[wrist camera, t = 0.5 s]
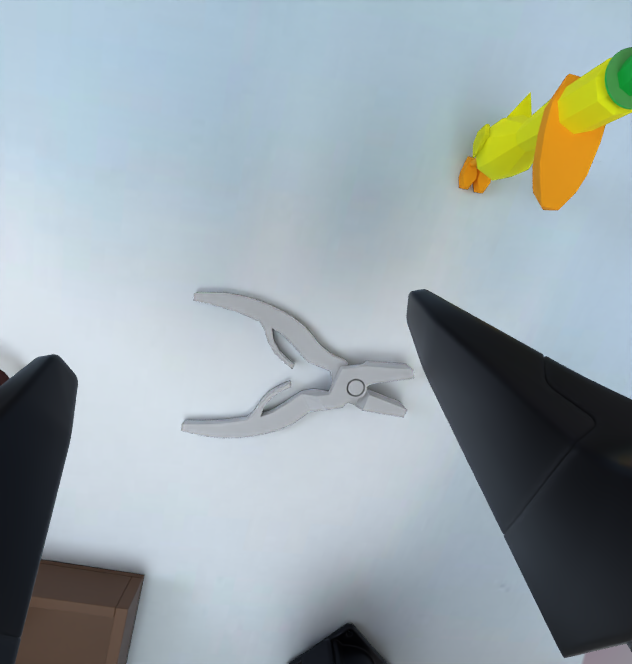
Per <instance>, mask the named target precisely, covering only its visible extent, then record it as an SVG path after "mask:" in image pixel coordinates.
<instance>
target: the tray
mask: <svg viewBox="0 0 632 664" xmlns="http://www.w3.org/2000/svg"><path fill="white" fill-rule="evenodd" d="M143 579H144V575H141V574H134V573H128V572H121V571H114V570H107V569H101V568H94V567H87V566H80V565H74V564H67V563H60V562H54V561H47V560H40V564H39V568H38V572H37V576H36V580H35V584H34V588H33V592H32V596H31V600H30V604H29V608H28V612H27V616H26V620H25V624H24V628H23V632H22V636H21V637H20V638H21V641H20V645H19V649H18V653H17V657H16V661H15V664H126V662H127V657H128V652H129V647H130V642H131V637H132V633H133V628H134V623H135V618H136V613H137V608H138V604H139V599H140V594H141V589H142V584H143Z"/></svg>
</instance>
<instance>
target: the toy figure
mask: <svg viewBox="0 0 632 664" xmlns="http://www.w3.org/2000/svg"><path fill="white" fill-rule="evenodd" d="M629 113H632V47H630V48H626V49H623V50H621V51H620V52H618V53H617V54H615V55H614V56H613V57H612V58H609V59H608V60H606V61H605V62H603V63H602V64H600V65H598V66H597V67H595V68H594V69H592V70H591V71H589V72H588V73H586V74H585V75H583V76H582V77H579V76H576V75H572V74H569V75H567V76H566V78H565V79H564V81H563V82H562V83H561V85H560V86H559V88H558V89H557V91H556V92H555V94H554V95H553V97H552V98H551V99H550V100H549V101H548V102H547V103H546V104H545V105H543V106H542V107H541V108H540V109H539V110H538V111H537V112H535V113H534V114H533V115H532V112H531V92H530V93H529V94H528V95H527V96H526V97H525V99H524V100H523V101H522V102H521V103H520V104H519V105H518V106H517V107H516V108H515V109H514V110H513V111H512V112H511V113H510V114H509V116H508V117H507V118H503V119H501V120H500V121H498V122H497V123H496V124H494V125H493V126H491V127H490V125H489V124H486V125H484V126H483V127H482V128H481V129H480V130H479V131H478V132H477V135H476V138H475V140H474V143H473V158H472V157H467V159H466V161H465V163H464V165H463V168H462V170H461V172H460V175H459V188H462V189H468V188H469V187H470V186H471V185H472V183H473V188H474V192H477V193H483V192H484V191H485V189H486V188H487V187H488V185H489V184H490V182H491V180H492V181H493V180H498V179H503V178H508V177H512V176H514V175H517V174H519V173H521V172H524V171H526V170H528V169H529V168H530V166H531V165H532V164H533V193H534V195H535V197H536V198H537V200H538V202H539V204H540V205H541V207H542V209H543V210H559V209H560V208H561V207H562V206H563V205H564V204H565V203H566V202H567V201H568V200H569V199H570V198H571V197H572V196H573V195H574V194H575V193H576V192H577V190H578V188H579V187H580V185H581V184H582V182H583V181H584V179H585V177H586V176H587V174H588V172H589V169H590V167H591V164H592V162H593V159H594V157H595V155H596V152H597V150H598V147H599V145H600V142H601V139H602V136H603V132H604V129H605V126H606V124H608V123H610V122H612V121H614V120H616V119H619V118H621V117H623V116H625V115H627V114H629ZM475 156H476V158H474V157H475Z"/></svg>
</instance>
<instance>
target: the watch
mask: <svg viewBox="0 0 632 664" xmlns="http://www.w3.org/2000/svg"><path fill="white" fill-rule="evenodd" d="M9 379H10V378H9V377H8V376H7V375H6V374H5V372H3V371H1V370H0V386H1V385H2V384H4V383H5V382H6V381H7V380H9Z"/></svg>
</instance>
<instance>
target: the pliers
mask: <svg viewBox="0 0 632 664" xmlns="http://www.w3.org/2000/svg"><path fill="white" fill-rule="evenodd" d="M193 300H194V301H198V302H203V303H207V304H211V305H214V306H218V307H222V308H225V309H229V310H232V311H235V312H238V313H240V314H243V315H245V316H248V317H250V318H252V319H255V320H257V321H259V322H260V323H261V325H262V327H263V328H264V330H265V334H266V337H267V340H268V343H269V345H270V346H271V348H272V350H273V351H274V353H275V354H276V355H277V356H278V357H279V358H280V359H281V360H282V361H283V362H284V363H285V364H286V365H288V366H289V367H290V368H291V369H293V367H294V363H293V362H292V361H291V360H289V359H288V358H287V357H286V356H285V355H284V354H283V353H282V352H281V351H280V350H279V348H278V346H277V344H276V342H275V341H274V338H273V329H274V330H276V331H277V332H279V333H280V334H282V335H283V336H284V337H285V338H286V339H287V340H288V341H289V342H290V343H291V344H292V345H293V346H294V347H295V349H296V350H297V351H298V352H299V353H300V354H301V356H302V357H303V358H304V359H305V360H306V361H307V362H308V363H311V364H313V365H316V366H318V367H321V368H323V369H326V370H328V371H330V373H331V379H332V385H331V387H330V389H329V391H325V390H320V389H309V390H302V391H300V392H299V393H297V394H296V395H294V396H293V397H291V398H290V399H288V400H287V401H285V402H284V403H282V404H280V405H279V406H277V407H275V408H274V409H272V410H269V411H266V412H263V413H262V411H263V409H264V406H265V405H266V404H267V403H268V402H269V400H270V399H271V398H272V397H274V396H275V395H277V394H278V393H280V392H282V391H284V390H286V389H288V388H290V387H291V382H290V381H288V382H286V383H283V384H281V385H279V386H277V387H276V388H274V389H272V390H270V391H269V392H268V393H267V394H266V395H265V396H264V397H263V398H262V399H261V400H260V402H259V404H258V405H257V407H256V408H255V410H254V411H253V412H252V413H251V414H250V415H249V416H245V417H239V418H231V419H221V420H184V422H183V423H182V427H181V431H184V432H188V433H192V434H196V435H201V436H207V437H216V438H242V437H250V436H256V435H261V434H267V433H270V432H273V431H277V430H280V429H282V428H285V427H287V426H289V425H291V424H294V423H295V422H297V421H298V420H299V419H301V418H302V417H304V416H305V415H306V414H308V413H309V412H312V411H320V410H328V409H336V408H342V407H344V406H345V405H346V404H347V403H350V404H353V405H355V406H357V407H358V408H359V409H361V410H362V411H367V412H373V413H379V414H385V415H391V416H397V417H403V418H404V416H405V414H406V412H407V409H406V408H405V406H404V405H403V404H402V403H401V402H399V401H397V400H394V399H392V398H389V397H387V396H384V395H382V394H379V393H377V392H374V391H372V390H369V389H367V386H369V385H371V384H376V383H383V382H390V381H398V380H405V379H412V378H414V370H413V369H412V368H411V367H410V366H408V365H407V364H404V363H390V362H375V361H365V362H364V363H363V364H357V365H349V364H348V363H347V361H346V360H345V359H343V358H341V357H338V356H335V355H333V354H331V353H330V352H329V351H328V350H326V349H325V348H324V347H323V346H321V345H320V344H319V343H318V341H317V340H316V339H315V338H314V336H313V335H312V334H311V332H310V331H309V330H308V329H307V328H306V327H305V326H304V325H303V324H301V323H300V322H299V321H298V320H297V319H295V318H294V317H292V316H290V315H289V314H287V313H286V312H284V311H282V310H280V309H278V308H276V307H274V306H272V305H270V304H267V303H265V302H262V301H260V300H257V299H254V298H250V297H246V296H242V295H237V294H231V293H219V292H197V293H194V299H193ZM272 328H273V329H272Z"/></svg>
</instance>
